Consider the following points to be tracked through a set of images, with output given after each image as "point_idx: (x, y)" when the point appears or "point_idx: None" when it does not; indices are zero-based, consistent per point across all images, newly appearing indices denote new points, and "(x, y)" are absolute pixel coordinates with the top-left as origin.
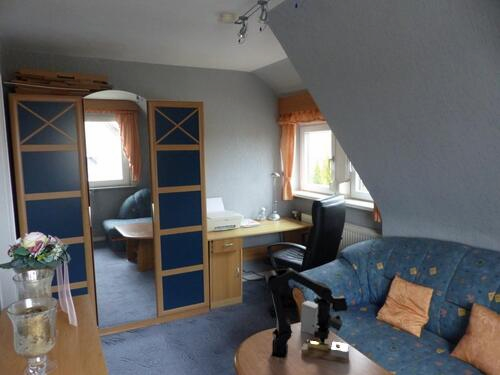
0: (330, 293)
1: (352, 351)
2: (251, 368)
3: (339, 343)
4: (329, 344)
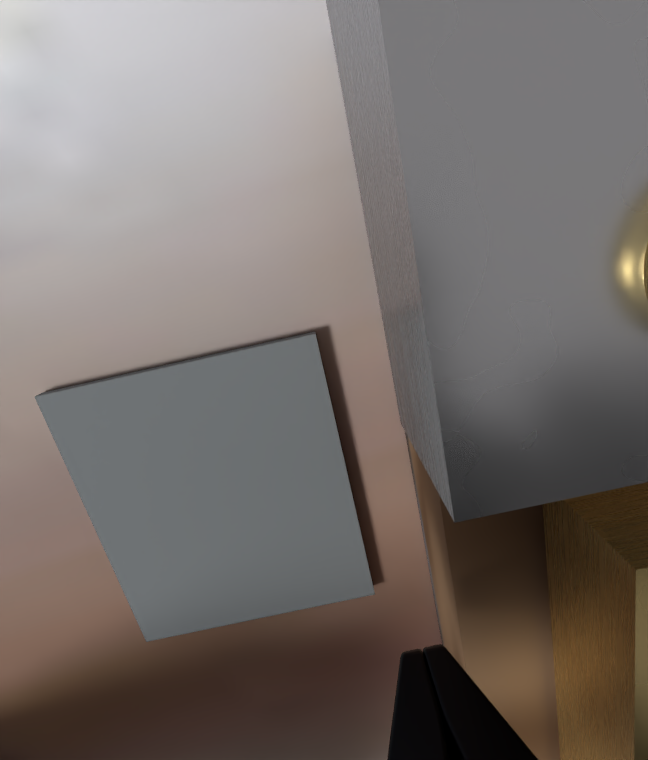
0: None
1: (41, 19)
2: None
3: (478, 245)
4: (126, 515)
